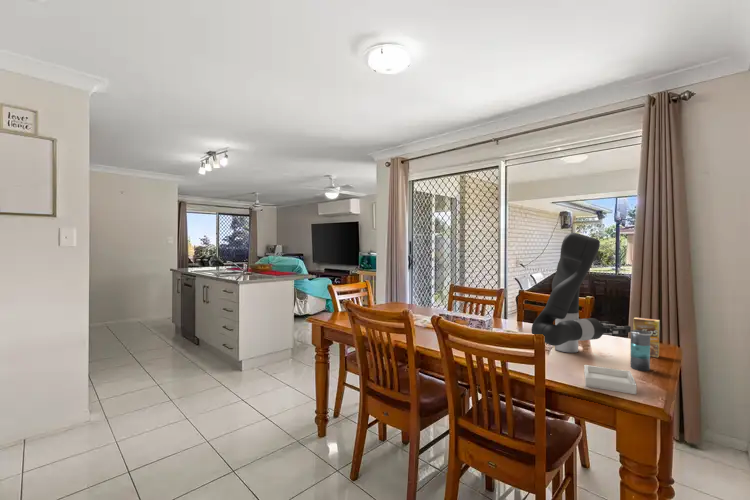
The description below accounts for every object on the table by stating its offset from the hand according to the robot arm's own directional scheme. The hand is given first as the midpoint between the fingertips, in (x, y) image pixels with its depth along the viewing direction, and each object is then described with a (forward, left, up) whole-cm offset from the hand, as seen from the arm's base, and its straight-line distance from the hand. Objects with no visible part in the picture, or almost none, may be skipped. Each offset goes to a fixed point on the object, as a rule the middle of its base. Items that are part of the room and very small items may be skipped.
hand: (618, 326), depth 135 cm
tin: (+8, +8, -17) cm, 20 cm away
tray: (-4, -14, -17) cm, 22 cm away
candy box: (+13, +29, -17) cm, 36 cm away
